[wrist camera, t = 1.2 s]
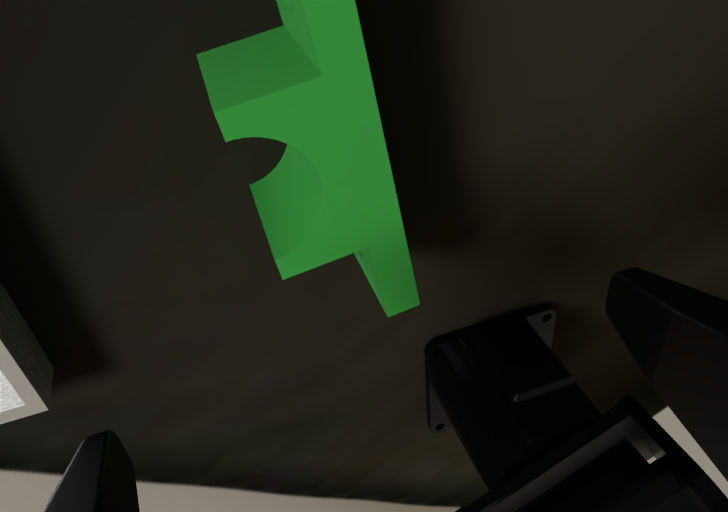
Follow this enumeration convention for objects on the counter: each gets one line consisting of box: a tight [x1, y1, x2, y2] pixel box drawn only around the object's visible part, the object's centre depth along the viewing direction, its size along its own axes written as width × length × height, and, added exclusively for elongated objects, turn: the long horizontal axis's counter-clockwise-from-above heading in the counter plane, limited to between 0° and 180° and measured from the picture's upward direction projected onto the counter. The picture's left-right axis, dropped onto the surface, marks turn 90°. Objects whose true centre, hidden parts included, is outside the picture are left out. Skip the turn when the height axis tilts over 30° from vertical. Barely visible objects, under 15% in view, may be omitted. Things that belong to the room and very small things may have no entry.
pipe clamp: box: [196, 0, 420, 317], centre depth 17 cm, size 11×4×5 cm, turn 13°
